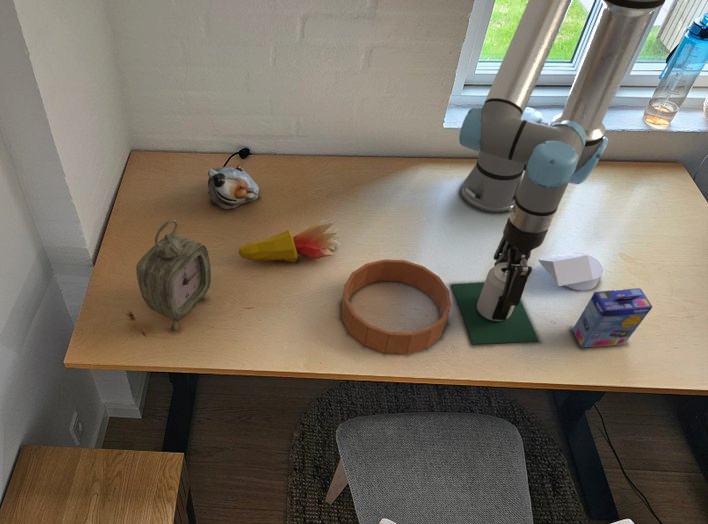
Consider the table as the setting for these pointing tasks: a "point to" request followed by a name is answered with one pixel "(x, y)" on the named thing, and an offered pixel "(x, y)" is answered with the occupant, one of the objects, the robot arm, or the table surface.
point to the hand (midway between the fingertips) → (495, 304)
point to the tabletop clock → (174, 275)
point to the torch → (294, 244)
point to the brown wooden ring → (406, 274)
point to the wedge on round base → (573, 270)
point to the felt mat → (488, 330)
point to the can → (493, 291)
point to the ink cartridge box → (611, 317)
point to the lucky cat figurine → (231, 187)
